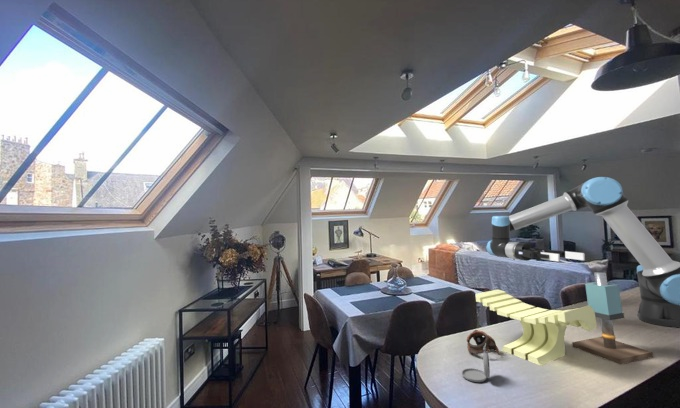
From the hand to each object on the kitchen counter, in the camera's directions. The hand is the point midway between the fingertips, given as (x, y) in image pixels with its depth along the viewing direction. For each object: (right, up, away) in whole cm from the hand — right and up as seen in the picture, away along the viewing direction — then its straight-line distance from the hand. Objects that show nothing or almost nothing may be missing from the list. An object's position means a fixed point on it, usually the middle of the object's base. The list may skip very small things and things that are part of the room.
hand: (571, 257), depth 106 cm
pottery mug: (-37, -32, -8) cm, 49 cm away
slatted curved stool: (-20, -31, -9) cm, 38 cm away
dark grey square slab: (+2, -18, -11) cm, 21 cm away
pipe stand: (+3, -29, -12) cm, 31 cm away
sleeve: (+2, -16, -11) cm, 20 cm away
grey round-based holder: (-46, -31, -24) cm, 61 cm away
